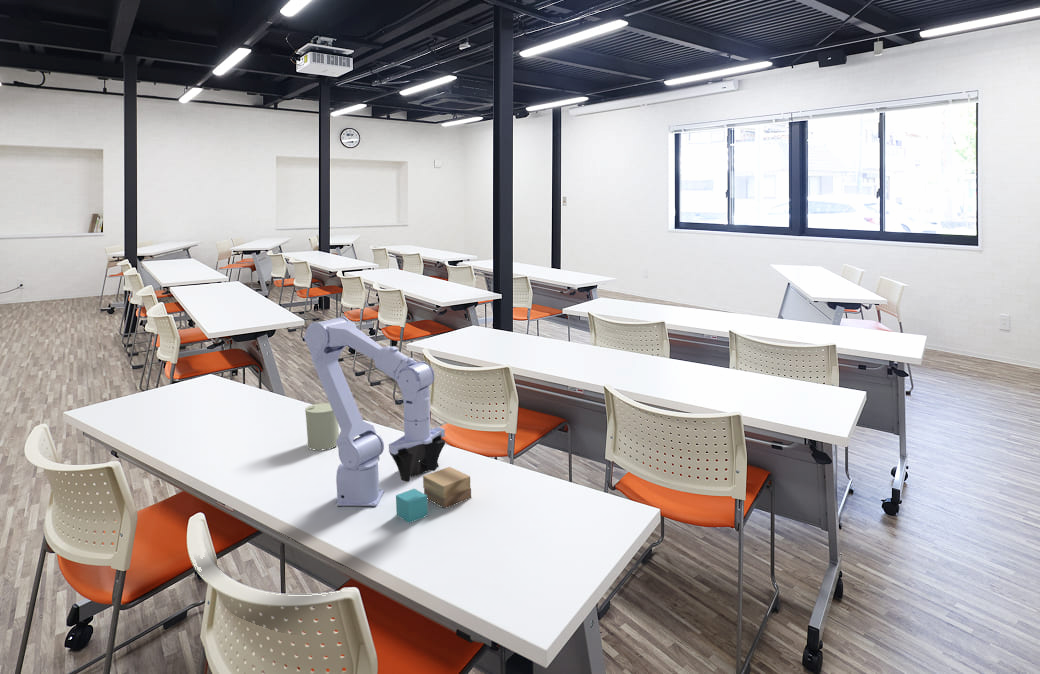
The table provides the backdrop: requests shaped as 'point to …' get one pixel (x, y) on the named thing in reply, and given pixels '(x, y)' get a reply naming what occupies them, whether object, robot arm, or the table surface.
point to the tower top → (446, 482)
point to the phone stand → (415, 465)
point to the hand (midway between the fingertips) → (418, 474)
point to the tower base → (448, 498)
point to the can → (321, 426)
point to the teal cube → (411, 505)
